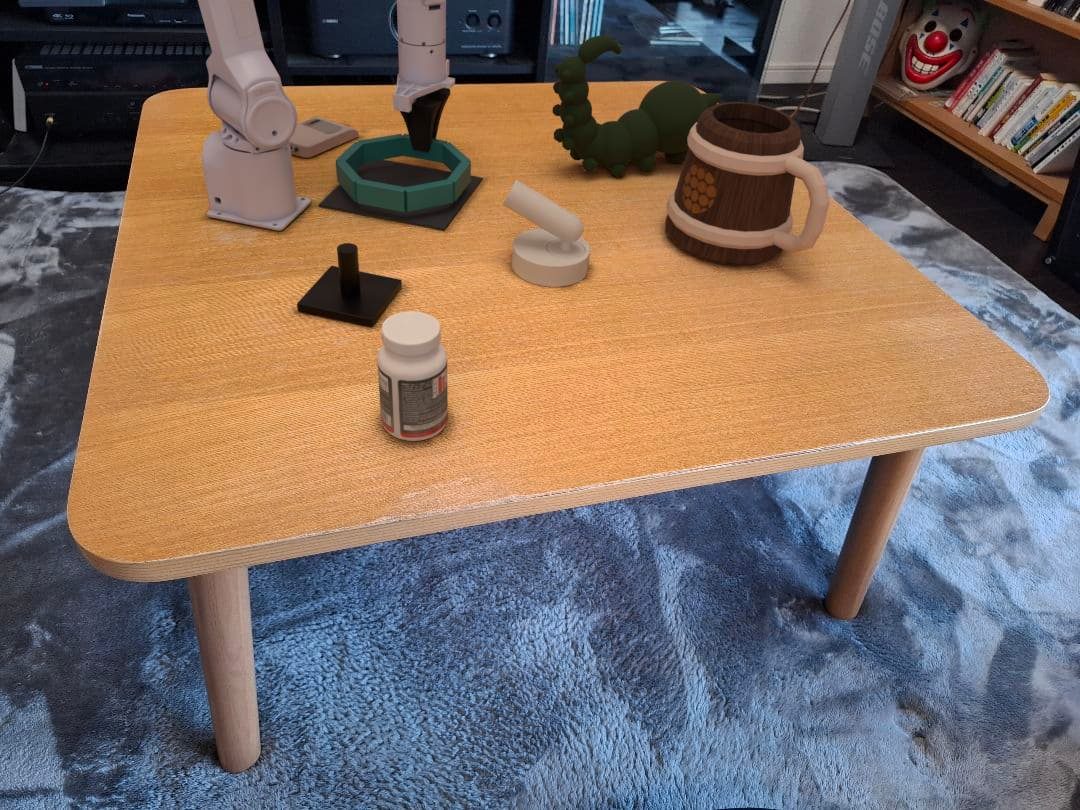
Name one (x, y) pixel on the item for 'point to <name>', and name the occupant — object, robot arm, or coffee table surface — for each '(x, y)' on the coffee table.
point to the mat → (401, 177)
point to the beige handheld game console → (319, 136)
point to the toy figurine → (624, 117)
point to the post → (350, 291)
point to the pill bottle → (412, 376)
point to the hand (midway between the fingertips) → (423, 147)
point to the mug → (743, 187)
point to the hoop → (398, 195)
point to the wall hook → (547, 240)
